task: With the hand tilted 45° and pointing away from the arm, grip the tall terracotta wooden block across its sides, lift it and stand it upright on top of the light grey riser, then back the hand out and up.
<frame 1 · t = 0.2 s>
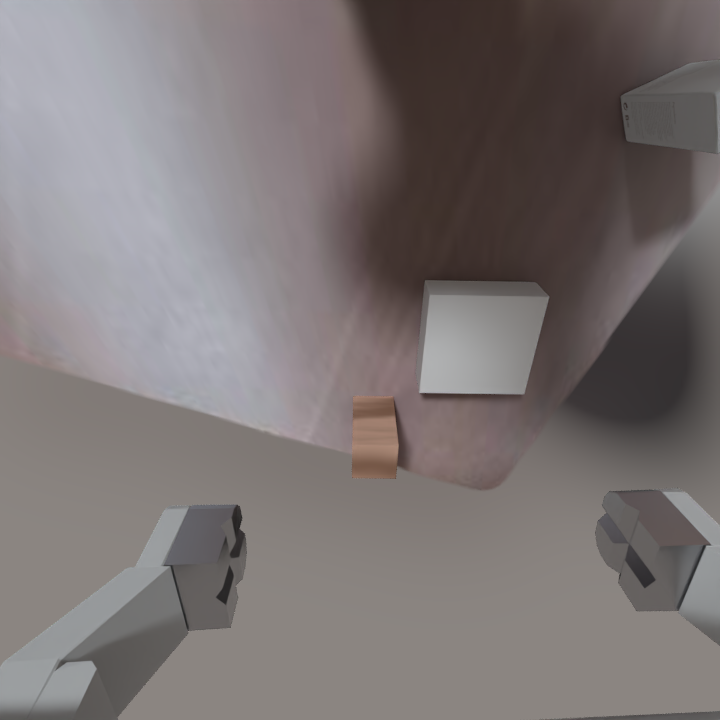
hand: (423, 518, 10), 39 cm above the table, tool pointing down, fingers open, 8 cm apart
skincare box: (656, 101, 40), on the table
riser: (472, 330, 51), on the table
terracotta block: (372, 412, 57), on the table
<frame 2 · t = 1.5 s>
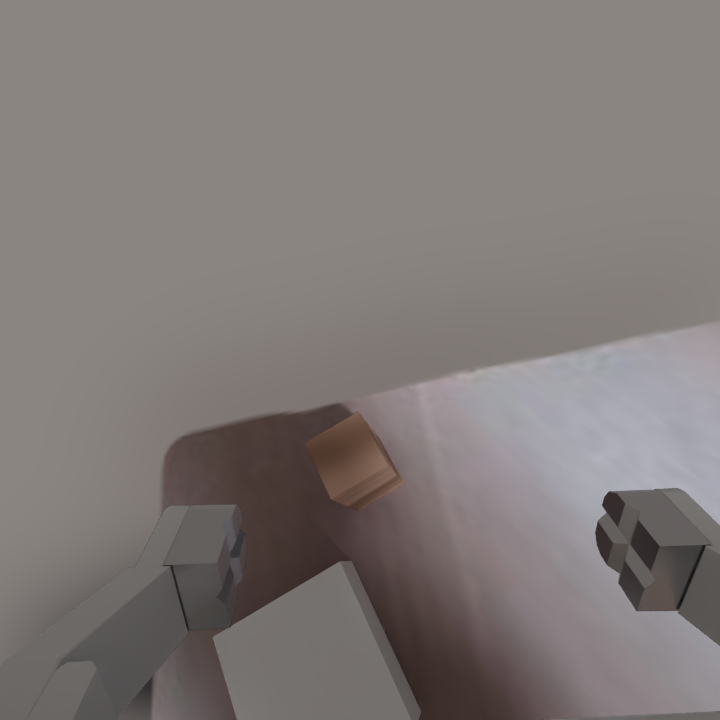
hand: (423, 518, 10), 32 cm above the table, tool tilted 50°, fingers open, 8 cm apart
riser: (321, 667, 37), on the table
terracotta block: (368, 473, 43), on the table
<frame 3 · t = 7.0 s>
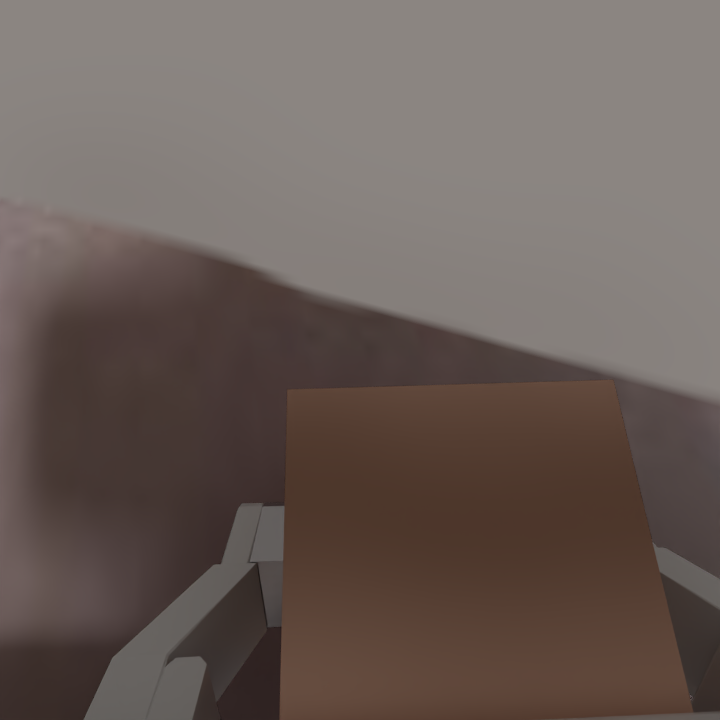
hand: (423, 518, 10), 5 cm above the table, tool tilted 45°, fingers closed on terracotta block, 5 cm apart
terracotta block: (403, 541, 14), on the table, touching gripper
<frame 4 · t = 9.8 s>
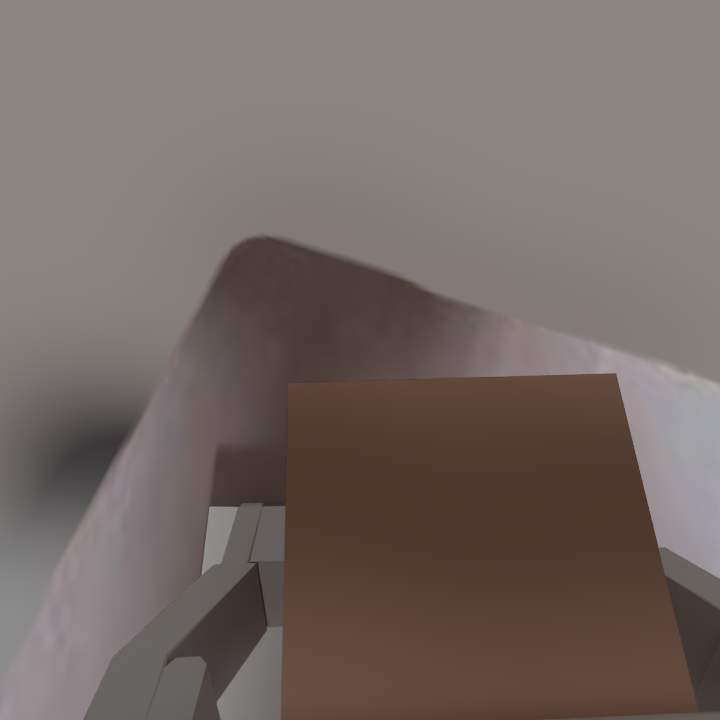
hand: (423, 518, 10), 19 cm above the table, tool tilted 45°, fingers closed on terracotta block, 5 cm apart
riser: (321, 619, 26), on the table
terracotta block: (403, 538, 14), point 14 cm above the table, touching gripper
when the fingers open (10 cm above the table, at t = 12.9 s): terracotta block drops 1 cm, resting on riser.
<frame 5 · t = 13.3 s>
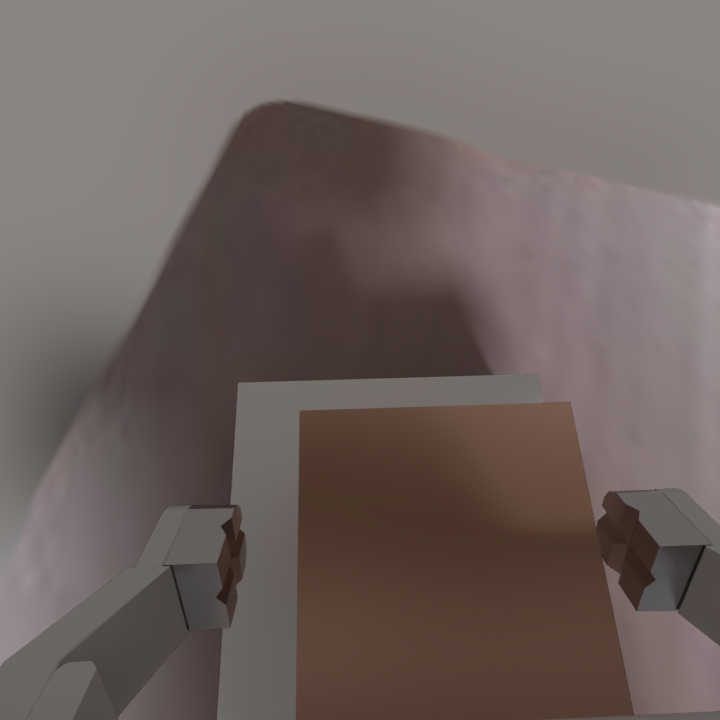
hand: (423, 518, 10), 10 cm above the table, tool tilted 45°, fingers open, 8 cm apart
riser: (390, 537, 20), on the table
terracotta block: (399, 538, 16), point 4 cm above the table, touching riser
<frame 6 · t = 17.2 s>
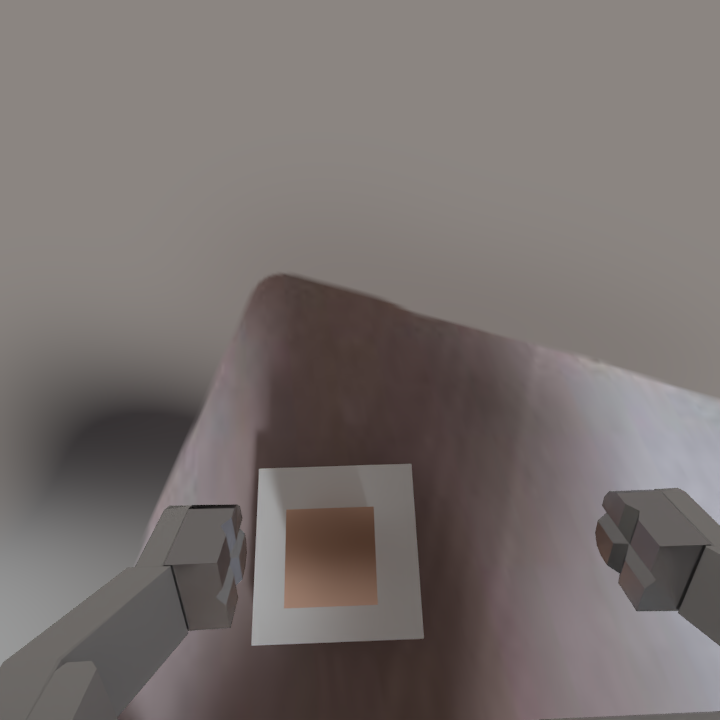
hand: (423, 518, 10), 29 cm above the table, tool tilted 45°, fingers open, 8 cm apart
riser: (338, 546, 37), on the table
terracotta block: (336, 548, 33), point 4 cm above the table, touching riser
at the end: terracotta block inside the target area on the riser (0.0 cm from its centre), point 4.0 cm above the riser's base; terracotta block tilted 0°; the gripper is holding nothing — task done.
